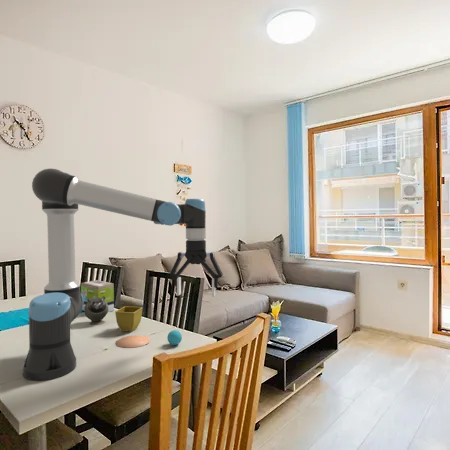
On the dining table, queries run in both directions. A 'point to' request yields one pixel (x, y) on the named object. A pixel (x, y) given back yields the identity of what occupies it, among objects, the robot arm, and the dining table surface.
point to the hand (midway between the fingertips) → (196, 295)
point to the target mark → (132, 341)
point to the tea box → (98, 292)
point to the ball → (174, 337)
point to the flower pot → (128, 318)
